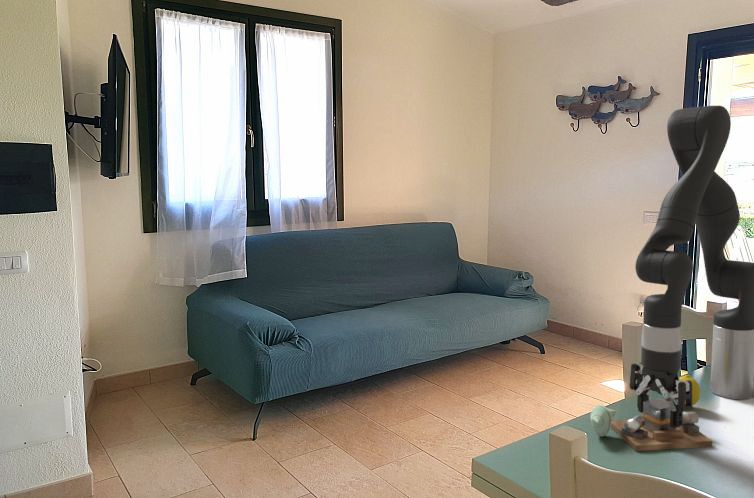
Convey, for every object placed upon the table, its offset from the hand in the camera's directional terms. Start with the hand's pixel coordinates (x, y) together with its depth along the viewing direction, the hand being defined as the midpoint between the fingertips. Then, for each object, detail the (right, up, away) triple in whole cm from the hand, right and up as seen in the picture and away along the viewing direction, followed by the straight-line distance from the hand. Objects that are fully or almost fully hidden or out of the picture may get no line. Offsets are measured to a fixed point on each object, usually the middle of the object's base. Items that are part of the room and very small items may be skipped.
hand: (658, 419), depth 124 cm
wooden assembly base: (0, -4, 0) cm, 4 cm away
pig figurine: (-12, -4, +1) cm, 13 cm away
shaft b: (-6, -3, -2) cm, 7 cm away
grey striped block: (0, -3, 0) cm, 3 cm away
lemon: (+13, -2, +14) cm, 19 cm away
